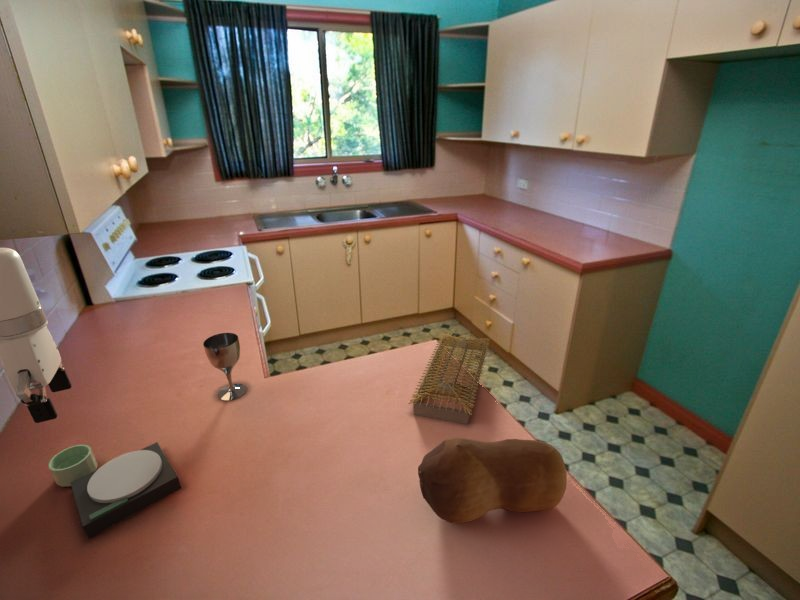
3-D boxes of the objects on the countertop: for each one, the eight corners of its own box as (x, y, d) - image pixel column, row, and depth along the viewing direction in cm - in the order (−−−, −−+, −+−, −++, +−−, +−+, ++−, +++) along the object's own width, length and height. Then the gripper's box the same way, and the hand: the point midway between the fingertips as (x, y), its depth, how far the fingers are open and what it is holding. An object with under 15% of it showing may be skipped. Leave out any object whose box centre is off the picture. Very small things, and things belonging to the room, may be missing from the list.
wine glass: (210, 392, 109) (197, 340, 103) (240, 379, 114) (229, 329, 108) (223, 405, 103) (211, 352, 97) (254, 391, 108) (244, 340, 102)
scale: (88, 539, 71) (81, 523, 70) (75, 493, 80) (68, 478, 79) (181, 488, 81) (177, 473, 79) (161, 452, 89) (156, 438, 88)
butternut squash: (424, 543, 66) (581, 531, 68) (421, 459, 65) (580, 448, 67) (416, 496, 80) (545, 487, 81) (413, 426, 79) (544, 418, 80)
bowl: (52, 493, 80) (43, 475, 79) (62, 468, 86) (54, 450, 84) (94, 481, 83) (86, 463, 81) (101, 457, 89) (94, 440, 87)
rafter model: (471, 427, 94) (472, 404, 91) (408, 415, 98) (408, 393, 96) (489, 349, 124) (491, 330, 122) (441, 342, 128) (441, 324, 126)
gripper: (9, 307, 78) (44, 384, 85) (-35, 350, 63) (12, 440, 70) (58, 299, 80) (89, 375, 87) (26, 339, 66) (66, 426, 73)
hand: (54, 404), depth 79 cm, fingers open, 9 cm apart
